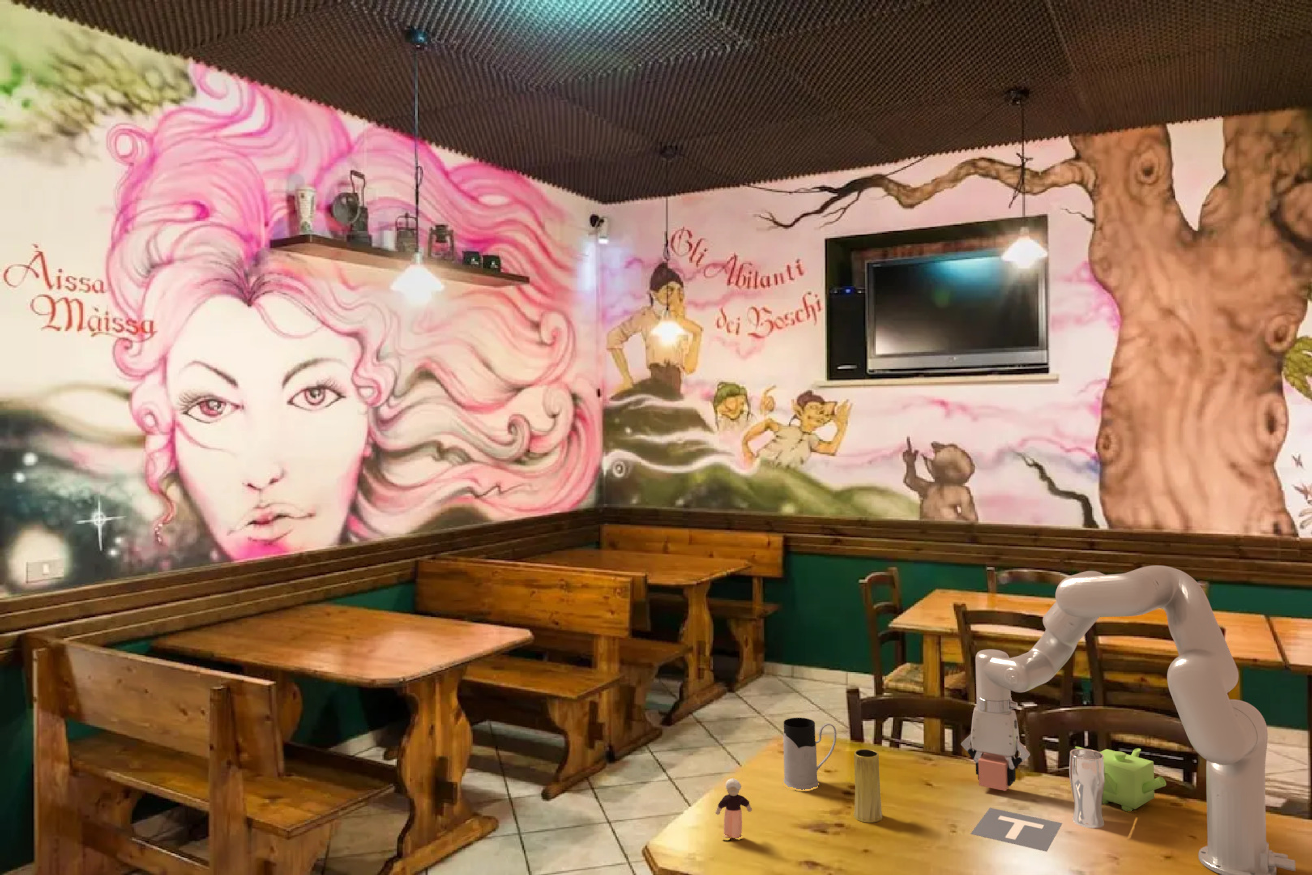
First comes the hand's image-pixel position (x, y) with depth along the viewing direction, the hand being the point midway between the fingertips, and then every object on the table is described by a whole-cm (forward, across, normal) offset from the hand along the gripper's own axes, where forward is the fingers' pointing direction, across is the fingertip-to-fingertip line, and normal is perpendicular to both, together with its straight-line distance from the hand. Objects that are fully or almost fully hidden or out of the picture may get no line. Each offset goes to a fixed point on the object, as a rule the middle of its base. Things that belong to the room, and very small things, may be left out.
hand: (995, 780), depth 212 cm
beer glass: (+3, -21, +7) cm, 22 cm away
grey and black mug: (+3, +39, +17) cm, 43 cm away
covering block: (+1, 0, 0) cm, 1 cm away
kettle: (+3, -25, -9) cm, 27 cm away
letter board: (+3, -9, +18) cm, 20 cm away
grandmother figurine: (+3, +40, +52) cm, 66 cm away
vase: (+3, +20, +28) cm, 35 cm away
